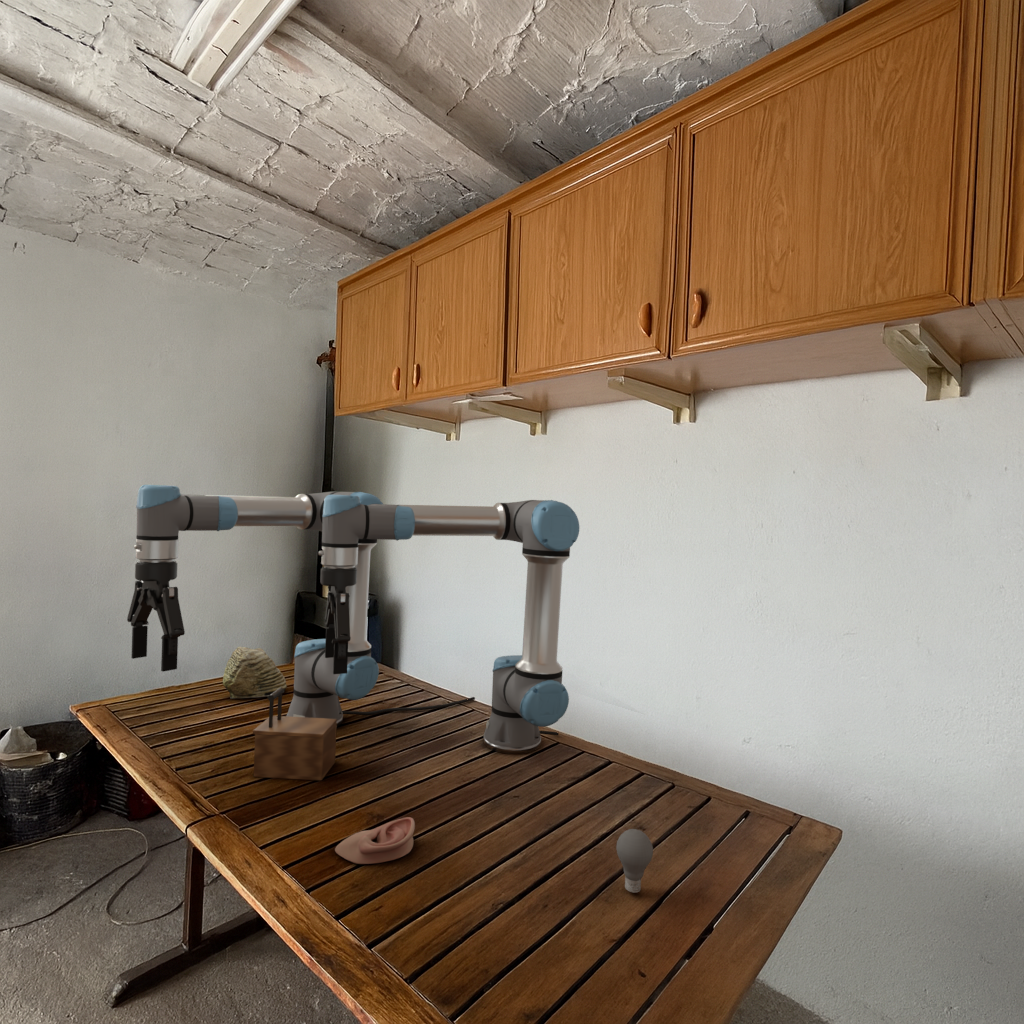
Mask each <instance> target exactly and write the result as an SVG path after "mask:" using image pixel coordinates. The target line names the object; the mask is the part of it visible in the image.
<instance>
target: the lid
mask: <svg viewBox="0 0 1024 1024" xmlns="http://www.w3.org/2000/svg"><path fill="white" fill-rule="evenodd" d="M284 693H285V691H284V689H283V688H282V687H280V688H279V689H277V690H276V691H274V692H273V693H272V694H270V695H269V696H267V700H268V702H269V706H268V707H269V708H268V718H266V719H265V720H264V721H263V722H261V723H260V724H259V725H258V726H257V727H255V728H254V729H253V730H252V734H253V735H255V734H261V735H279V736H298V737H316V738H323V737H324V736H325V735H326V734H327V733H328V731H329V730H330V729H331V728H332V727H333V726H334V725H335V724H336V722H337V719H327V718H308V717H289V716H286V715H282V712H283V711H282V709H283V694H284ZM276 699H277V715H274V703H275V701H274V700H276Z"/></svg>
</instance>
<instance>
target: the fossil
mask: <svg viewBox="0 0 1024 1024" xmlns="http://www.w3.org/2000/svg"><path fill="white" fill-rule="evenodd" d="M222 676H223V677H222V685H223V687H224V688H225V690H226V691H228V693H229V698H230V699H250V698H264V697H268V696H269V695H270V694H272V693H273V692H274V691H276V690H277V689H279V688H280V687H282V688H283V689H284V692H285V691H286V689H287V687H288V686H287V680H286V678H285V676H284V674H283V673H282V672H281V669H279V668H278V667H277V665H276V663H275V662H274V660H273V659H272V658H271V657H270V656H269V655H268V654H267V653H266V652H265V650H264V649H263V648H260V647H258V648H251V647H247V646H246V647H245V646H238V647H237V648H236V649H235V650H233V651H232V653H231V656H230V657H229V659H228V660H227V663H226V666H225V668H224V671H223V675H222Z"/></svg>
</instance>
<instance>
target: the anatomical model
mask: <svg viewBox="0 0 1024 1024" xmlns="http://www.w3.org/2000/svg"><path fill="white" fill-rule="evenodd" d="M415 828H416V823H415V820H414V818H413V817H410V816H409V817H402V818H398V819H395V820H392V821H389V822H386V823H384V824H382V825H380V826H377V827H375V828H372V829H368V830H361V831H358V832H356V833H353V834H352V835H350V836H348V837H346V838H345V839H343V840H342V841H340V843H338V844H337V845H336V846H335V848H334V852H335V853H336V854H337V855H338V856H340V857H341V858H343V859H344V860H347V861H348V862H351V863H353V864H357V865H369V864H370V865H371V864H380V863H385V862H390V861H394V860H398V859H400V858H402V857H404V856H407V855H408V854H409V853H410V852H411V851H412V849H413V847H414V837H413V835H414V833H415Z"/></svg>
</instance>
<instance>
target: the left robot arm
mask: <svg viewBox="0 0 1024 1024" xmlns="http://www.w3.org/2000/svg"><path fill="white" fill-rule="evenodd" d="M328 495H354V496H358V497H359V498H360V504H363V505H370V504H384V503H383V502H382V501H381V499H380V498H379V497H378V496H377V495H374V494H372V493H368V492H363V491H337V490H336V491H325V492H316V493H299V494H297V495H296V496H262V495H261V496H260V495H259V496H257V495H221V494H219V495H217V494H184V493H183V494H182V493H181V489H180V487H179V486H178V485H164V484H163V485H162V484H142V485H141V486H140V487H139V488H138V492H137V499H136V507H135V508H136V538H135V539H136V540H135V541H136V542H135V544H134V545H133V549H134V550H135V558H136V559H137V561H136V562H135V564H134V565H135V566H134V578H135V582H134V591H133V595H132V599H131V603H130V606H129V609H128V615H127V617H126V621H127V622H128V623H130V626H131V627H132V628H131V659H140V658H146V657H148V629H149V627H148V625H149V621H148V619H149V618H150V615H151V612H152V611H153V610H154V611H156V613H157V616H158V621H159V623H160V626H161V629H162V633H163V634H162V636H161V637H160V639H161V659H160V660H161V663H160V664H161V665H160V671H161V672H168V671H173V670H178V652H179V651H178V650H179V649H178V648H179V638H180V637H181V636H184V635H185V634H186V632H185V626H184V621H183V617H182V610H181V606H180V601H179V588H178V586H170V581H173V580H175V579H177V577H178V561H176V559H178V558H179V532H186V531H191V532H192V531H193V532H194V531H196V532H197V531H201V532H203V531H204V532H205V531H206V532H209V531H211V532H213V531H216V532H220V531H229V530H232V529H233V528H234V527H295V528H296V529H298V530H308V531H309V530H310V531H318V532H322V520H323V517H322V515H323V508H324V499H325V497H326V496H328ZM377 544H378V539H358V563H357V565H356V566H355V568H356V569H357V583H356V584H355V585H353V586H347V587H346V592H347V593H349V595H350V597H349V620H350V637H351V639H350V641H348V662H347V673H345V674H333V662H334V657H332V658H325V642H326V638H317V639H308V640H304V641H300V642H299V643H297V645H296V646H295V650H294V655H293V657H294V672H293V673H294V674H293V695H292V696H293V697H292V699H291V702H290V704H289V708H288V711H287V713H286V715H285V716H289V717H308V718H327V719H337V722H336V723H337V726H336V728H337V727H339V726H340V725H342V723H343V722H344V715H354V716H355V715H356V716H372V715H378V714H384V713H389V712H415V711H416V712H417V711H429V710H437V709H441V708H442V709H443V708H447V707H452V706H456V705H460V704H464V703H468V702H471V701H475V700H476V697H475V696H471V697H468V698H464V699H460V700H456V701H452V702H451V701H450V702H447V703H441V704H437V705H427V706H413V707H391V708H383V709H378V710H373V711H372V710H371V711H357V710H343V709H342V706H341V702H340V699H339V698H341V699H344V700H345V699H347V700H350V701H357V700H360V699H363V698H364V697H366V696H367V695H368V694H370V692H371V690H373V689H374V687H375V686H376V684H377V682H378V678H379V676H380V675H379V674H380V668H379V664H378V662H376V659H375V658H374V657H372V644H371V643H370V642H369V641H368V640H367V626H368V608H369V607H368V604H369V588H370V587H369V585H370V569H371V568H370V567H371V566H370V565H371V553H372V552H371V551H372V549H373V548H375V546H376V545H377ZM467 699H468V700H467Z"/></svg>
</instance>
